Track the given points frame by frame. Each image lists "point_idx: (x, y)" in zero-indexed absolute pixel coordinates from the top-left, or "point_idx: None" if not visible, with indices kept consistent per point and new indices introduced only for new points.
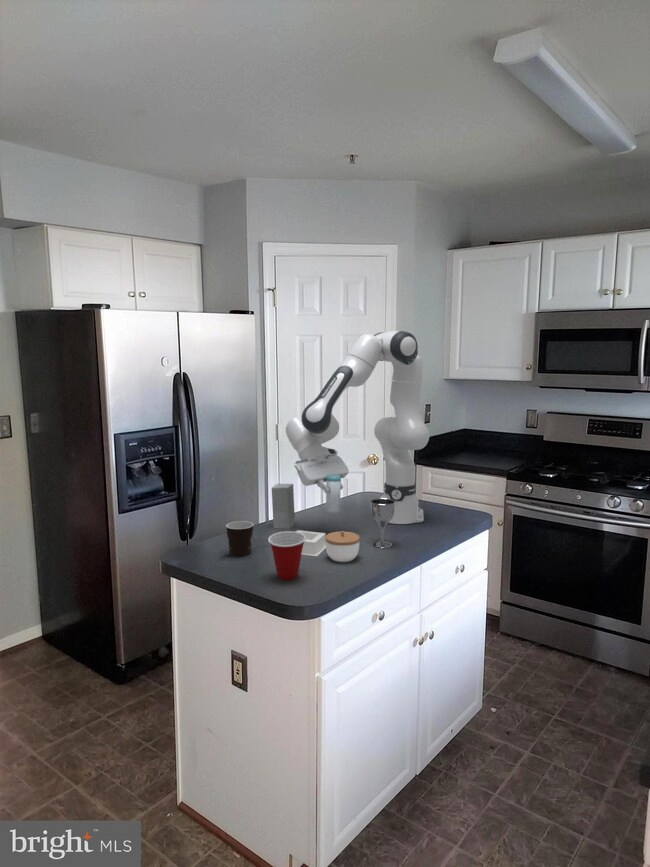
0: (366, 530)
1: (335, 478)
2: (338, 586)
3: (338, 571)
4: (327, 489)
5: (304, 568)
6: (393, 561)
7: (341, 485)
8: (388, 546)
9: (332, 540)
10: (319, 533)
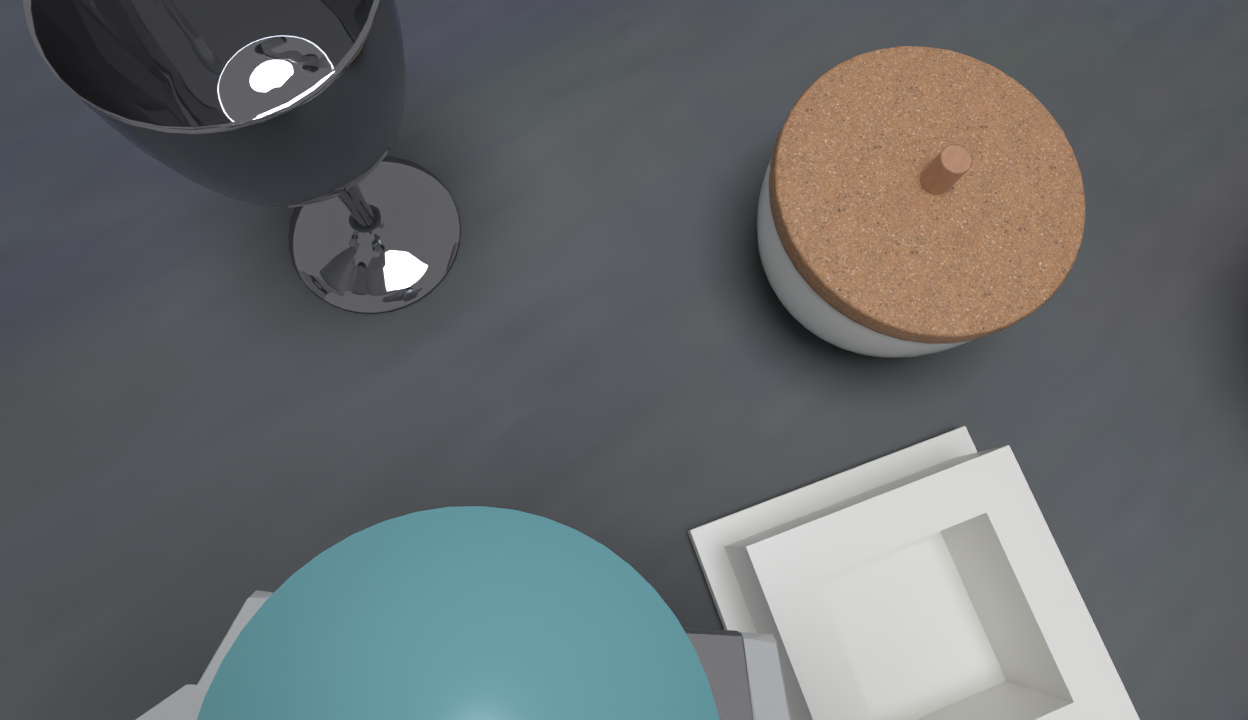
0: (93, 555)
1: (611, 555)
2: (1177, 44)
3: None
4: (774, 652)
5: (1149, 372)
6: (632, 5)
7: None
8: (396, 165)
9: (1078, 184)
10: (792, 590)
